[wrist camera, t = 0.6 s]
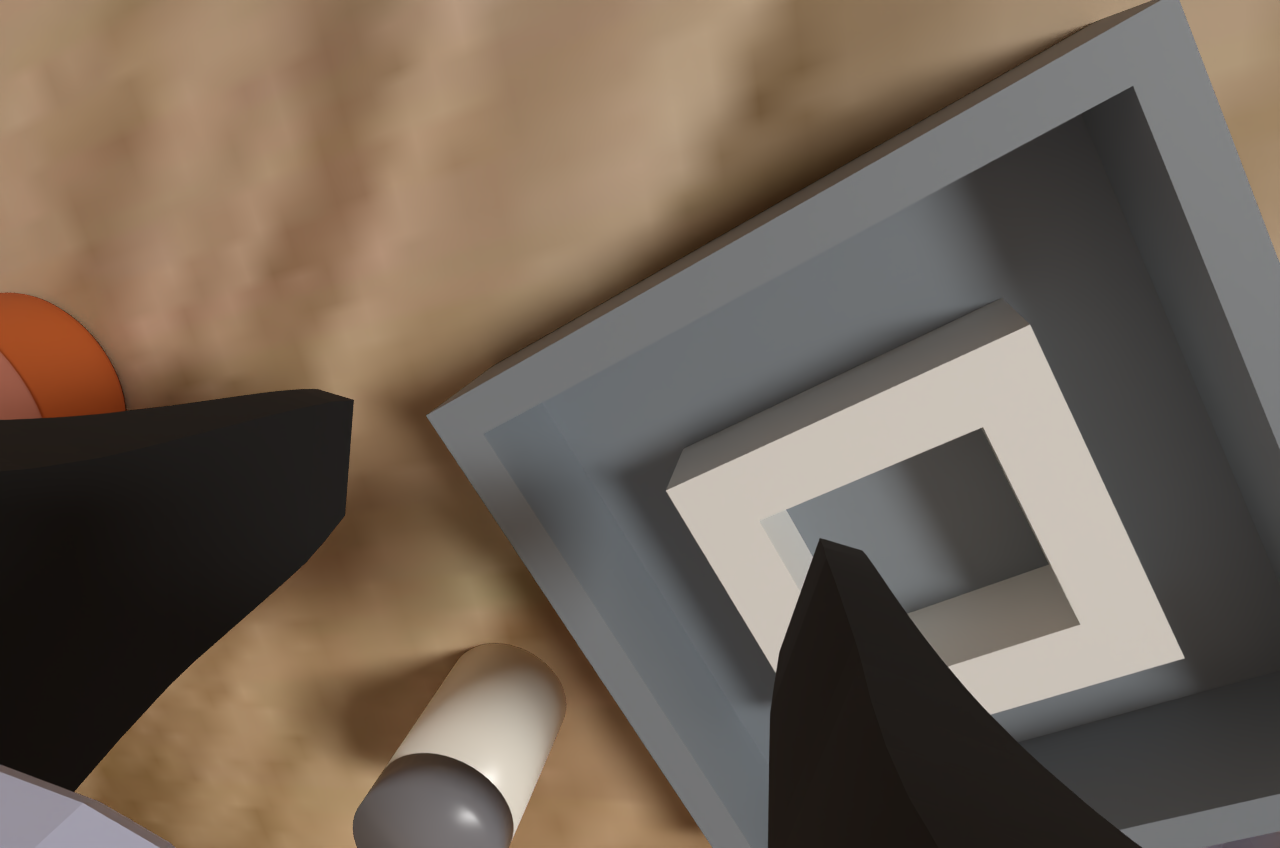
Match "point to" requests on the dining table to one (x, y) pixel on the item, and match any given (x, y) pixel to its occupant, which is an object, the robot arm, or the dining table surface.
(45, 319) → the cup with straw
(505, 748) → the connector peg
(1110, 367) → the walled box
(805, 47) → the dining table surface
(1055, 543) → the inlet socket
